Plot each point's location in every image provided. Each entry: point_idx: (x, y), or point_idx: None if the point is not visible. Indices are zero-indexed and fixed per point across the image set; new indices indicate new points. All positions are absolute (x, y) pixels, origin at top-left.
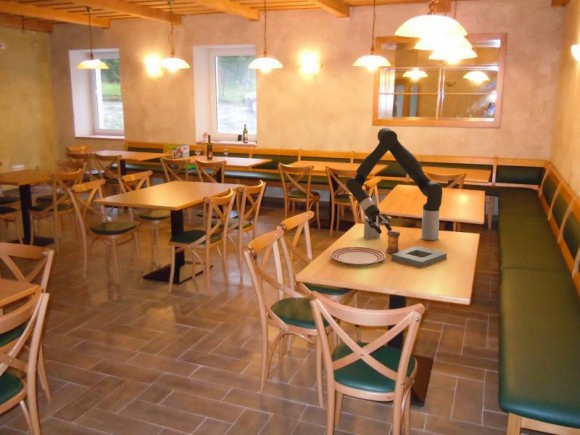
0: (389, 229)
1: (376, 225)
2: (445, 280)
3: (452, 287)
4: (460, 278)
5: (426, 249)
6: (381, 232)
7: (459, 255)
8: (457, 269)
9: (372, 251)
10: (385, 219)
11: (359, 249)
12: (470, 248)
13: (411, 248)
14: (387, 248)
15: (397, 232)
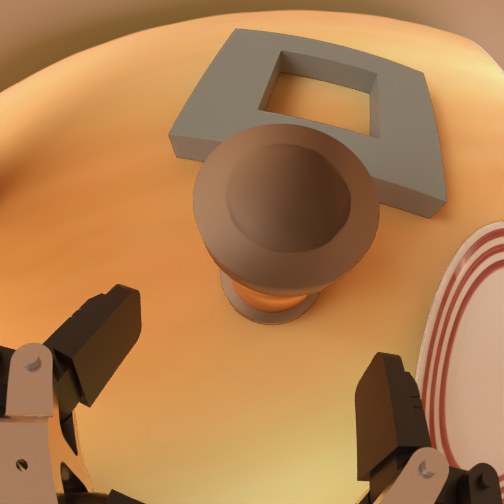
0: (130, 322)
1: (445, 466)
2: (439, 50)
3: (457, 46)
4: (398, 26)
5: (220, 80)
6: (384, 356)
7: (167, 40)
8: (336, 24)
9: (436, 363)
10: (1, 424)
11: None
12: (70, 58)
13: None
14: (272, 319)
15: (278, 146)
